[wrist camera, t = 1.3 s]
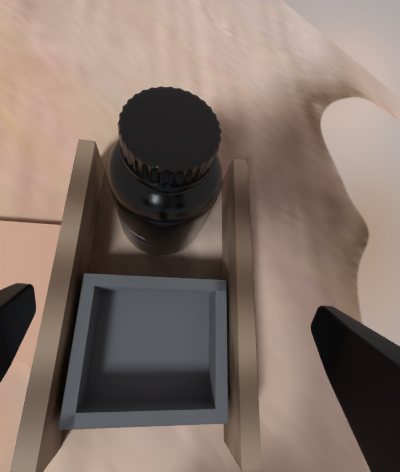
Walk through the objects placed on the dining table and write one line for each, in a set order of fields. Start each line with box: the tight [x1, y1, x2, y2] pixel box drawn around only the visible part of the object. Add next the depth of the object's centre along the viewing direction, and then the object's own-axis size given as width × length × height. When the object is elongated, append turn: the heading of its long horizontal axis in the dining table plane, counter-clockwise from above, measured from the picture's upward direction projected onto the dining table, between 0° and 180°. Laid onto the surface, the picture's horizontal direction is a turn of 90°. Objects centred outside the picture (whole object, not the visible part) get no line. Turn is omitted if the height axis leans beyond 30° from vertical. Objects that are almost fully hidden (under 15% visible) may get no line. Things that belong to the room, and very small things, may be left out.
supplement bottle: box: [107, 87, 222, 255], centre depth 17 cm, size 7×7×12 cm
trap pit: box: [58, 273, 228, 430], centre depth 18 cm, size 9×10×3 cm
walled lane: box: [10, 139, 262, 472], centre depth 19 cm, size 21×13×4 cm, turn 179°
